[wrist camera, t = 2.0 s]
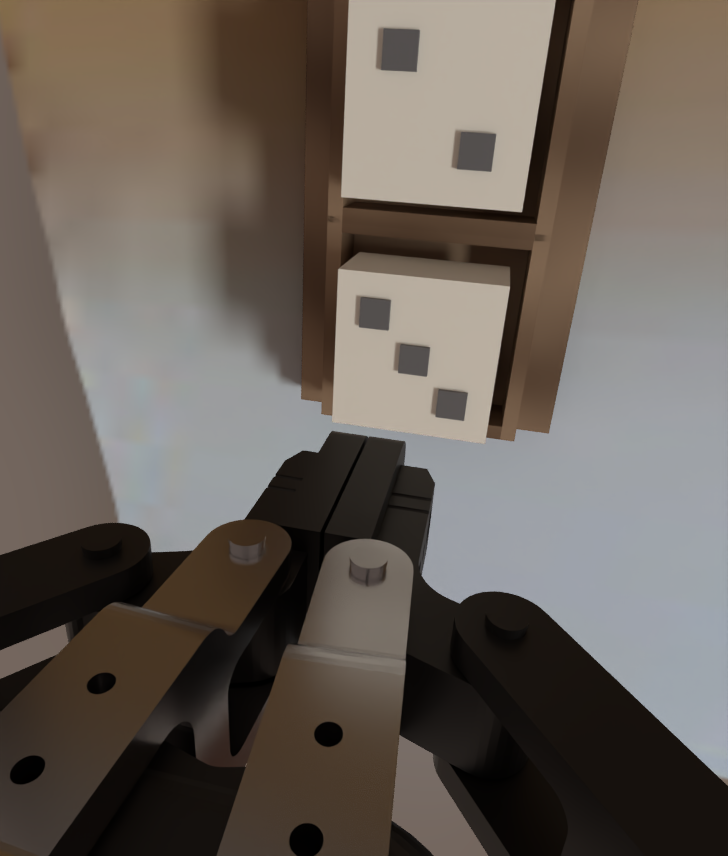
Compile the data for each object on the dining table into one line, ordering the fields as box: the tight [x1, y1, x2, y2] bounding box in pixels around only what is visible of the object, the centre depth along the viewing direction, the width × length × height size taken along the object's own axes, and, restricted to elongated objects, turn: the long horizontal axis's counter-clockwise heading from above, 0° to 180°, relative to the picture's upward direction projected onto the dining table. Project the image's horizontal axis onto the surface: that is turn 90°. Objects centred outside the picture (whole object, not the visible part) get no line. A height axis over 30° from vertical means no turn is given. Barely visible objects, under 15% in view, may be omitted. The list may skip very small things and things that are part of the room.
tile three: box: [332, 252, 510, 444], centre depth 20 cm, size 5×5×3 cm
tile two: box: [341, 0, 556, 212], centre depth 17 cm, size 5×5×3 cm
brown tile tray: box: [301, 0, 638, 441], centre depth 20 cm, size 22×10×3 cm, turn 177°
